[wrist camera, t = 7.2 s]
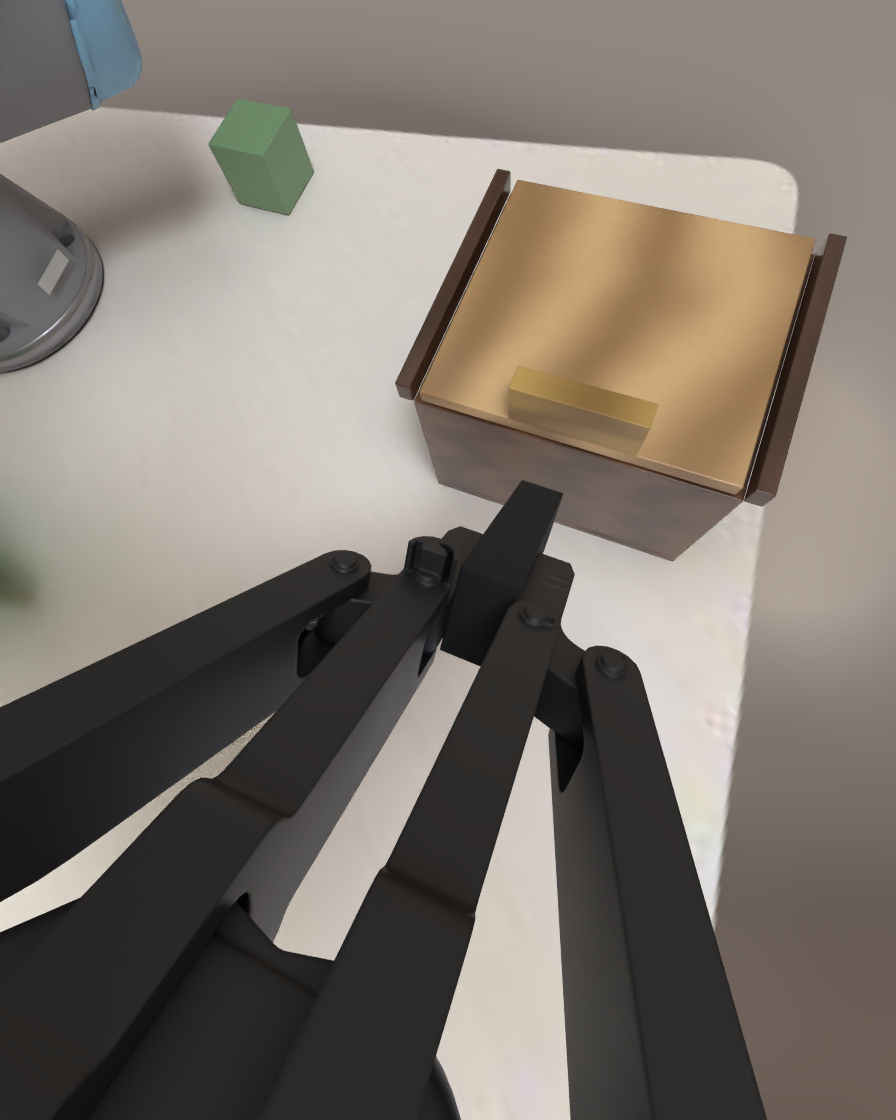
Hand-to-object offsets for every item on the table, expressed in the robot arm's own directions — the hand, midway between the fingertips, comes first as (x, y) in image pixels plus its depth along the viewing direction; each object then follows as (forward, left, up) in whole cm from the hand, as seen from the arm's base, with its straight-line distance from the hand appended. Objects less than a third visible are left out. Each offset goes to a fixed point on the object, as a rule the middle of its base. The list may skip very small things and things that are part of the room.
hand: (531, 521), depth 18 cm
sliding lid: (0, +13, -5) cm, 14 cm away
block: (-32, +27, -15) cm, 44 cm away
